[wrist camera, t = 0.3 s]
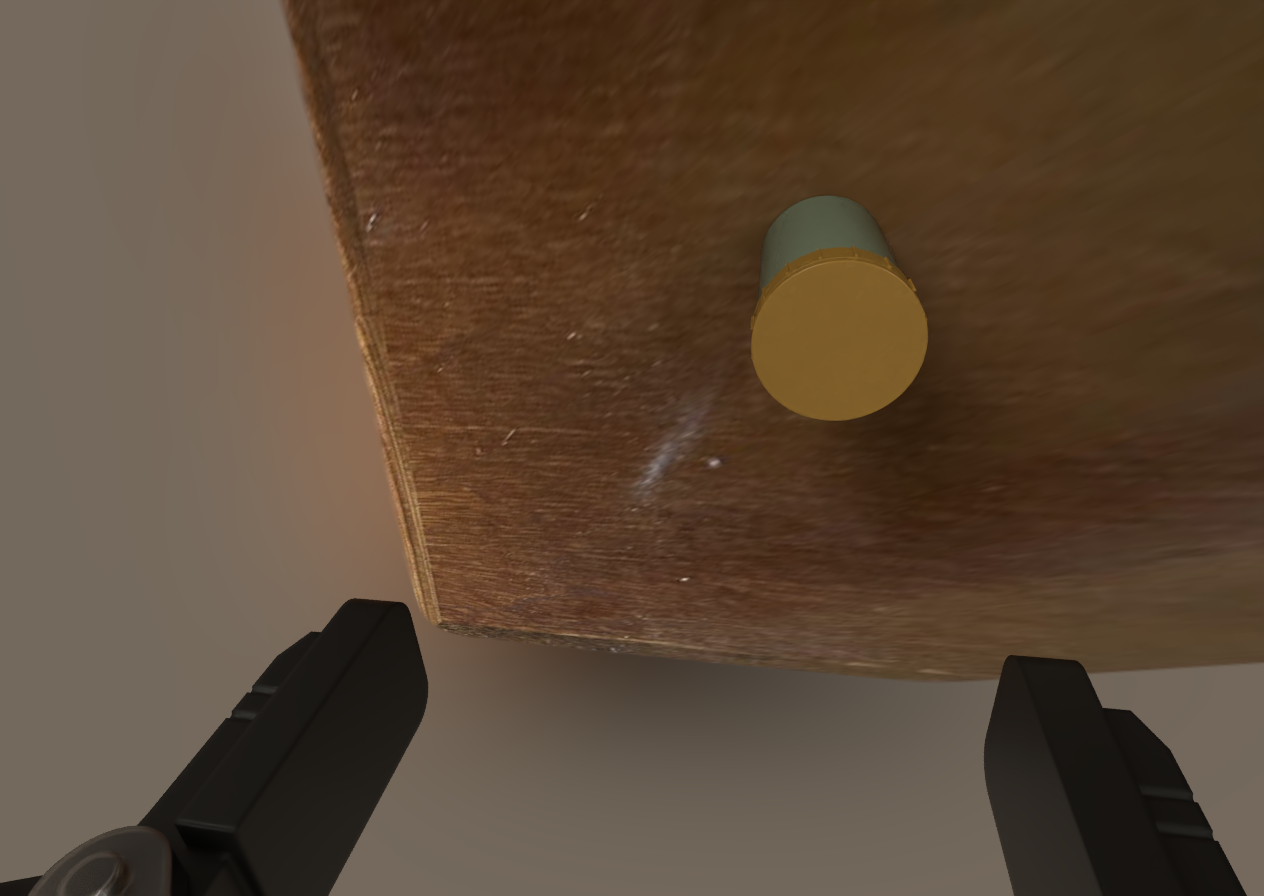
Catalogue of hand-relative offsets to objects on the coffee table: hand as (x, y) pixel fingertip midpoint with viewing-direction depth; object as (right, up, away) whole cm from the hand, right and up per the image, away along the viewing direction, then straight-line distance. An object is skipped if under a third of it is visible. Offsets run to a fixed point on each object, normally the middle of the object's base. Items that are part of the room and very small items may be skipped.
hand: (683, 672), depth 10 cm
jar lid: (+6, +7, +16) cm, 18 cm away
